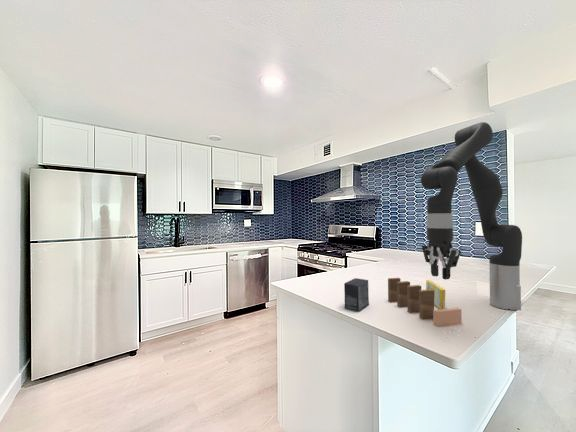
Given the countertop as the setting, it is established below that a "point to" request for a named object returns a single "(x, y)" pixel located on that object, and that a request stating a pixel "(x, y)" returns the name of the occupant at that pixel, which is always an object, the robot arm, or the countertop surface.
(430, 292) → the domino
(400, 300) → the domino
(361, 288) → the small box
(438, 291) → the candy box
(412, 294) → the domino
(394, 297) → the domino
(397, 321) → the countertop surface
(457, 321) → the domino
